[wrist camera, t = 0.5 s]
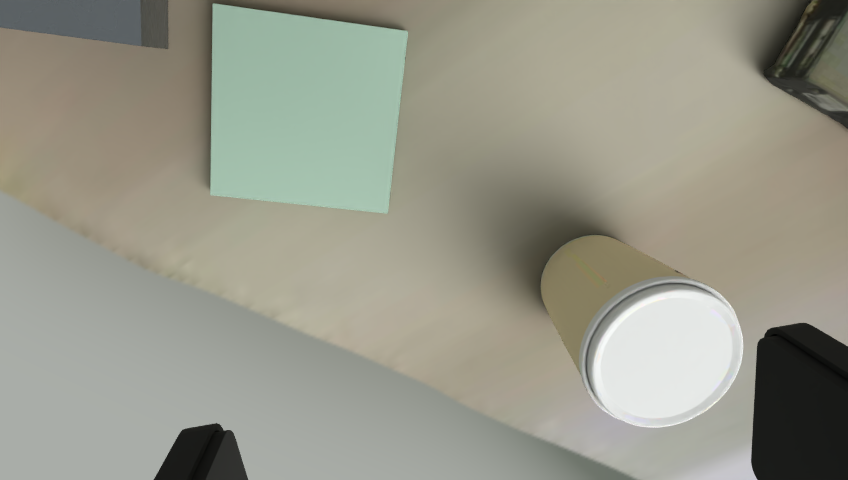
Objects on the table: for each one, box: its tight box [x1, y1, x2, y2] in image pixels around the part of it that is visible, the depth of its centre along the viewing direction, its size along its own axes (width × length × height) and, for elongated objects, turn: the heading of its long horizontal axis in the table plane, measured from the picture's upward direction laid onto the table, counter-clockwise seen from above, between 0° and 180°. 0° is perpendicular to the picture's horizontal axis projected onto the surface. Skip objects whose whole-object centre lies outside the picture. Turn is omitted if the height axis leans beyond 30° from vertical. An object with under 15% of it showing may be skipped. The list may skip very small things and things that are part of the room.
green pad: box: [210, 3, 408, 214], centre depth 35 cm, size 12×12×1 cm
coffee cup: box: [541, 235, 743, 427], centre depth 35 cm, size 9×9×12 cm
